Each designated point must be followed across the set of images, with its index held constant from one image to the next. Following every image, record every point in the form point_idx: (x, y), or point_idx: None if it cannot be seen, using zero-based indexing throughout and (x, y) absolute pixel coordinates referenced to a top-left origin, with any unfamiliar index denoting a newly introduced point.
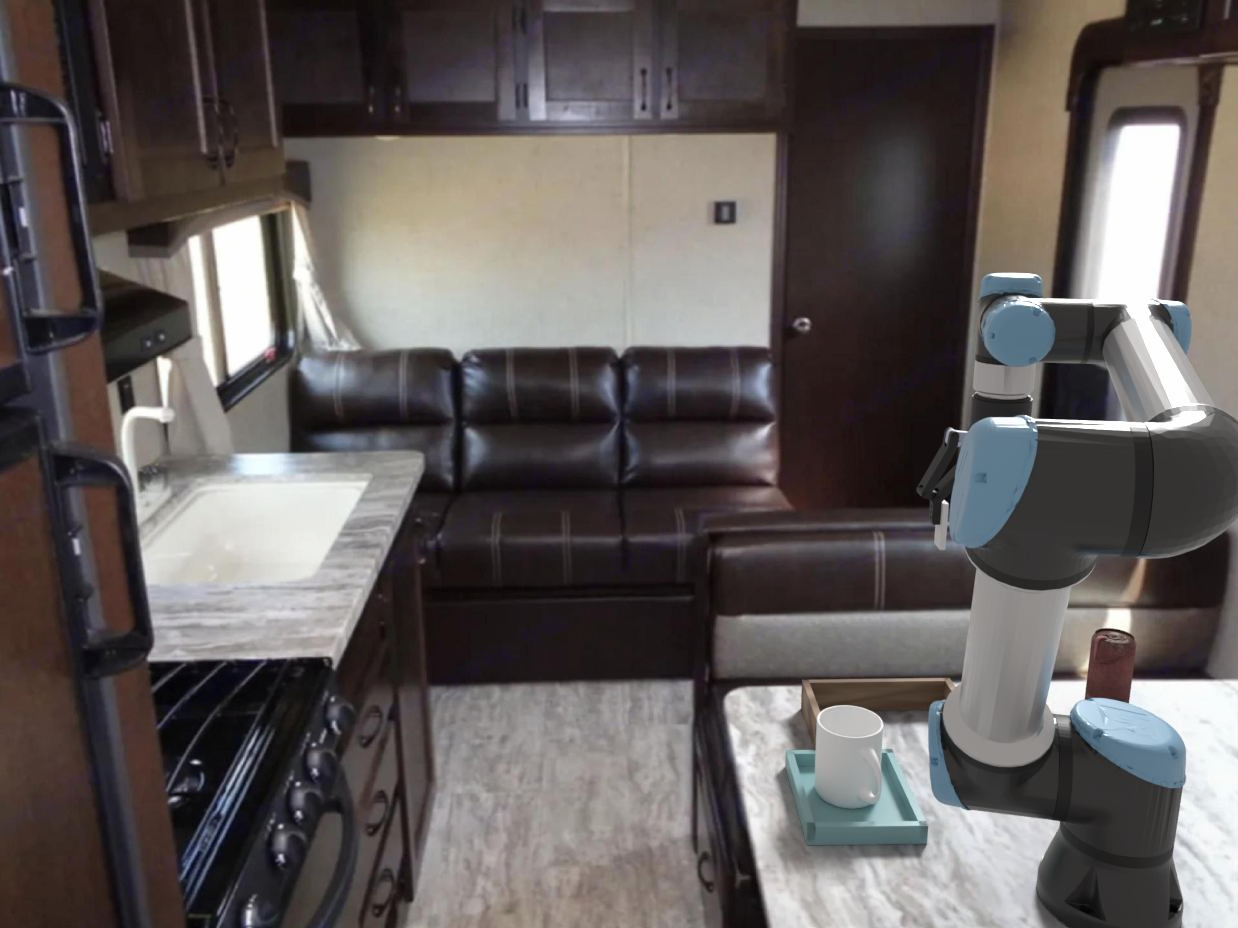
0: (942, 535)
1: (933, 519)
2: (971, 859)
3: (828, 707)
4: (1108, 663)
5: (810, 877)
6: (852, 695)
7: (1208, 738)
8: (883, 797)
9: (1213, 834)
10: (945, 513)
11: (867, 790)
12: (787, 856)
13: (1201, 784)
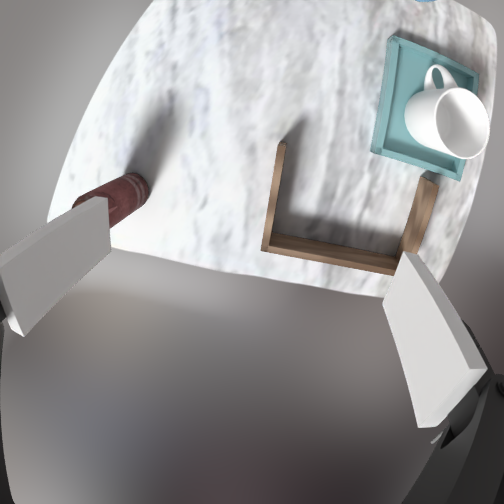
0: (431, 279)
1: (468, 332)
2: (359, 13)
3: (379, 255)
4: (107, 194)
5: (475, 45)
6: (361, 256)
7: (79, 152)
8: (402, 100)
9: (146, 22)
10: (460, 335)
11: (432, 86)
12: (484, 70)
13: (114, 85)
